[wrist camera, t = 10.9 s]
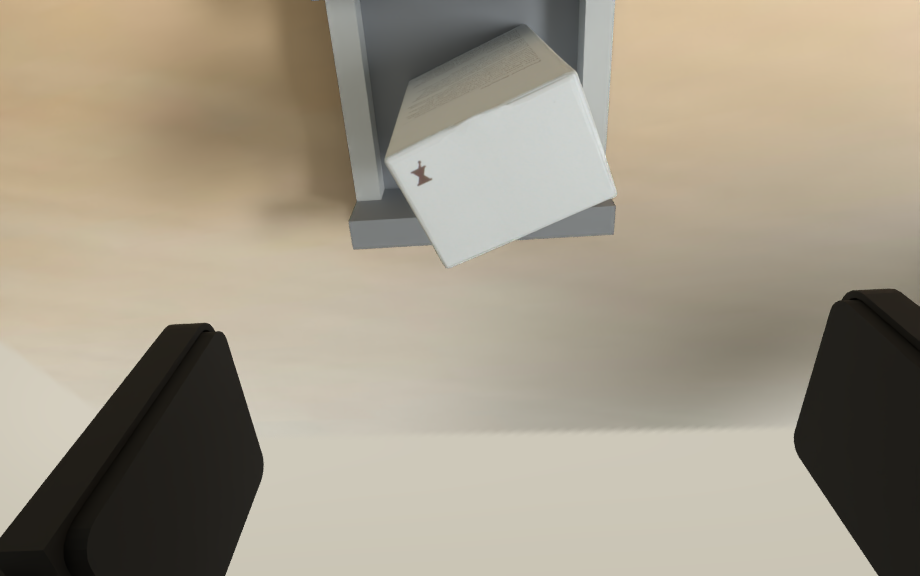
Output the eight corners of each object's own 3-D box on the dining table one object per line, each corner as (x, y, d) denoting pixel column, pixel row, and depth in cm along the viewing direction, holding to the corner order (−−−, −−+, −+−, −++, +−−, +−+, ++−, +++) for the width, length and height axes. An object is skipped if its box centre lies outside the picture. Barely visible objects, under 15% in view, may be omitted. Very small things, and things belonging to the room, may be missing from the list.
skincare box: (447, 160, 29) (441, 275, 19) (407, 79, 27) (376, 157, 17) (562, 107, 28) (623, 199, 18) (528, 18, 26) (575, 63, 16)
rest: (606, -79, 25) (636, -86, 21) (591, 205, 32) (612, 246, 27) (327, -59, 26) (301, -61, 21) (369, 219, 32) (355, 261, 28)
